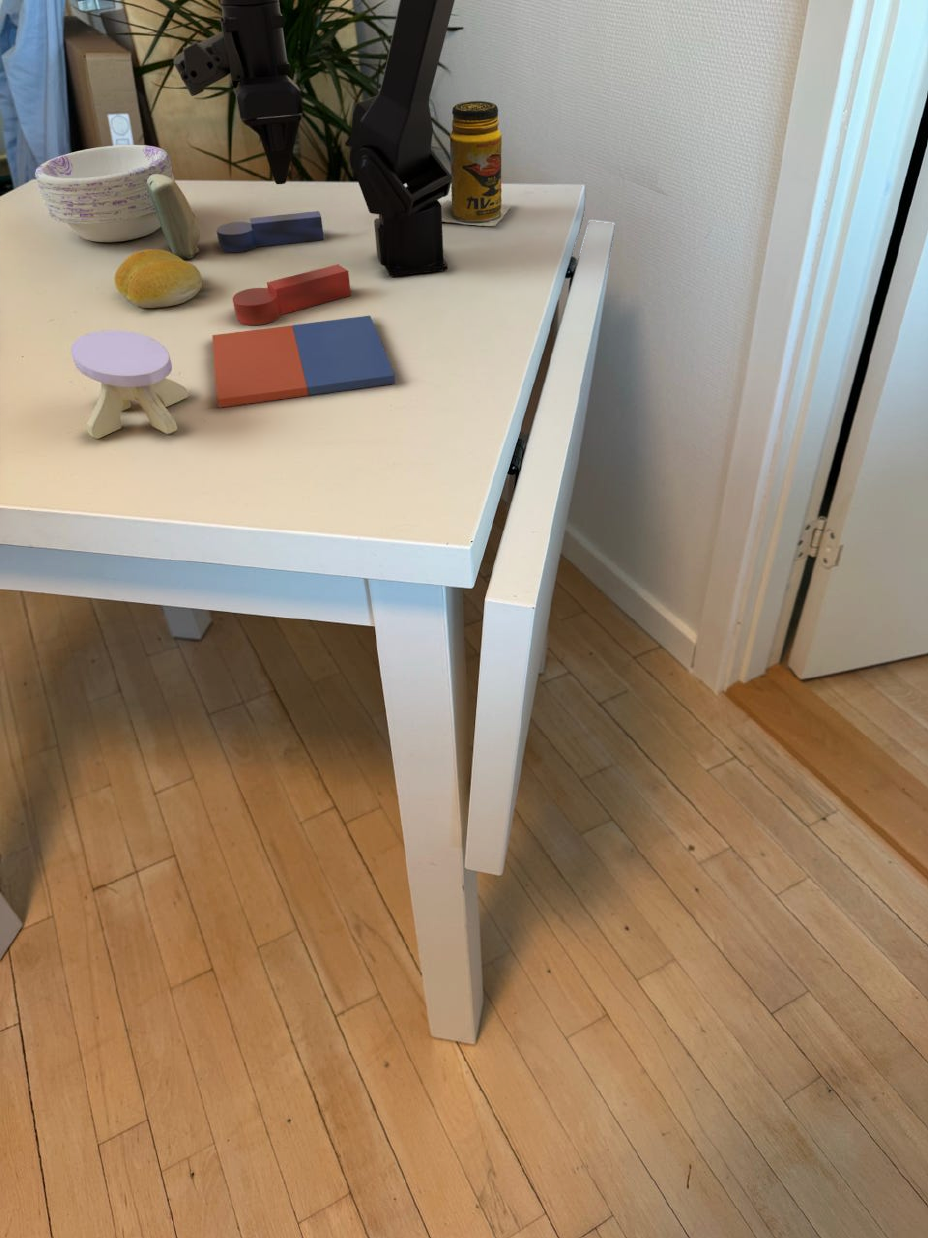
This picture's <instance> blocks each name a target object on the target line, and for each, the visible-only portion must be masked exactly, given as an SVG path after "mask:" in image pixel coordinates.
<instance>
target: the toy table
mask: <svg viewBox="0 0 928 1238" xmlns="http://www.w3.org/2000/svg"><path fill="white" fill-rule="evenodd" d="M70 354H71V358H72V360H73V363H74V366H75V368H76V369H77V370H78V371H79V372H80V373H81V374H82V375H84V376H85V377H87V378H89V379H90V380H93V381H96V382H98V383H101V384H100V385H101V387H100V393H99V396H98V398H97V402H96V404H95V406H94V408H93V410H92V412H91V414H90V416H89V418H88V420H87V423H86V428H87V429H86V430H87V432H88V434H89V436H91V437H92V438H94V439H96V440H99V439H101V438H103V437H105V436H108V435H109V434H111V433H115V432H116V431H118V430H120V429H122V427H123V426H122V422H121V413H122V412H123V411H126V410H128V409H131V408H132V404H131V401H132V400H136V401H137V402H138V404H139V405H140V406H141V407H142V409H143V411H144V413H145V414H146V417H147V419H148V421H149V424H150V426H151V427H152V428H155V429H157V430H158V431H161V432H162V433H164V434H166V435H170V434H173V433H174V432H176V431H177V430H178V425H177V423H176V421H175V419H174V417H173V416H172V414H171V412H169V410H168V409H167V408H168V407H170V406H172V405H174V404H176V403H179V402H181V401H183V400H185V399H187V398H188V397H189V391H188V389H187V388H186V387H185V386H184V385H182V384H180V383H179V382H176V381H174V380H172V379H169V378H167V377H169V375H170V374H171V372H172V370H173V363H172V359H171V355H170V352H169V350H168V348H167V347H165V345H164V344H163V343H161V341H159V340H157V339H155V338H153V337H151V336H148V335H145V334H142V333H139V332H134V331H128V330H121V329H106V330H105V329H104V330H98V331H92V332H90V333H86V334H83V335H82V336H80V337H78V338H77V339H75V340H74V341H73V343H72V344H71V346H70ZM130 400H131V401H130Z"/></svg>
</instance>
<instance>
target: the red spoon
mask: <svg viewBox="0 0 928 1238" xmlns="http://www.w3.org/2000/svg"><path fill="white" fill-rule="evenodd" d="M266 286H267V287H252V288H251V287H250V288H247V289H243V290H241V291H238V292H235V294H234V295H233V296H232V304H233V309H234V314H235V319H236V321H237V322H238V323H240V324H242V325H246V326H262V325H263V326H264V325H267V324H271V323H273V322H275V321H277V320H279V319H280V318H281V316H282V315H286V314H290V313H292V312H296V311H301V310H303V309H307V308H311V307H314V306H318V305H322V304H326V303H328V302H329V303H330V302H332V301H337V300H340V299H343V298H347V297H351V296H352V293H351V284H350V275H349V270H348V269H346V268H345V267H344V266H342V265H340V264H339V263H338V264H334V265H329V266H325V267H321V268H317V269H314V270H310V271H306V272H302V273H299V274H294V275H291V276H286V277H283V278H280V279H279V278H278V279H274V280H270V281H267V282H266Z"/></svg>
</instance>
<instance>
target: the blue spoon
mask: <svg viewBox="0 0 928 1238" xmlns="http://www.w3.org/2000/svg"><path fill="white" fill-rule="evenodd" d="M249 220H250V221H249V222H248V221H234V222H227V223H224V224H221V225H219V226H218V227H216V235H217V240H218V245H219V249H220V250H221V251H222V252H225V253H245V252H249V251H252V250H254V249H256V248H260V247H261V248H262V247H270V246H279V245H288V244H298V243H306V242H314V241H323V240H324V239H325V237H324V230H323V221H322V216H321V213H320V211H319V210H315V211H314V210H313V211H308V212H307V211H305V212H297V213H295V212H294V213H286V214H278V215H268V216H258V217H250V218H249Z"/></svg>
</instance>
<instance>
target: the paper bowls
mask: <svg viewBox="0 0 928 1238" xmlns="http://www.w3.org/2000/svg"><path fill="white" fill-rule="evenodd" d="M154 174H160V175H164V176H167V177H170V178H171V179H173V180H174V181H175V182H176V179H175V175H174V173H173V165H172V162H171V158H170V155H169V153H167V151H166V150H164V149H163V148H161V147H157V146H154V145H147V144H116V145H107V146H97V147H93V148H87V149H86V148H85V149H82V150H77V151H74V152H70V153H65V154H62V155H60V156H56V157H54V158H51V159H49V160H47V161H45V162H43V163H41V164H40V165H39V166H38V167H37V168H35V172H34V177H35V179H36V183H38V188H39V192H40V194H41V197H42V200H43V201H44V206H45V209H46V211H47V212H48V215H49V217H50V218H52V219H53V220H54V221H58V222H60V223H66V224H68V225H69V227H70V228H71V230H73V231H74V233H75V234H77V235H78V237H80V238H82V239H84V240H86V241H91V242H97V243H120V242H125V241H132V240H136V239H139V238H143V237H145V236H150V235H151V234H153V233H155V232H157V231H158V230H159V229H160V228H161V225H160V222H159V219H158V216H157V214H156V211H155V208H154V205H153V202H152V200H151V197H150V195H149V192H148V189H147V180H148V178H149V177H150V176H151V175H154Z"/></svg>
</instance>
